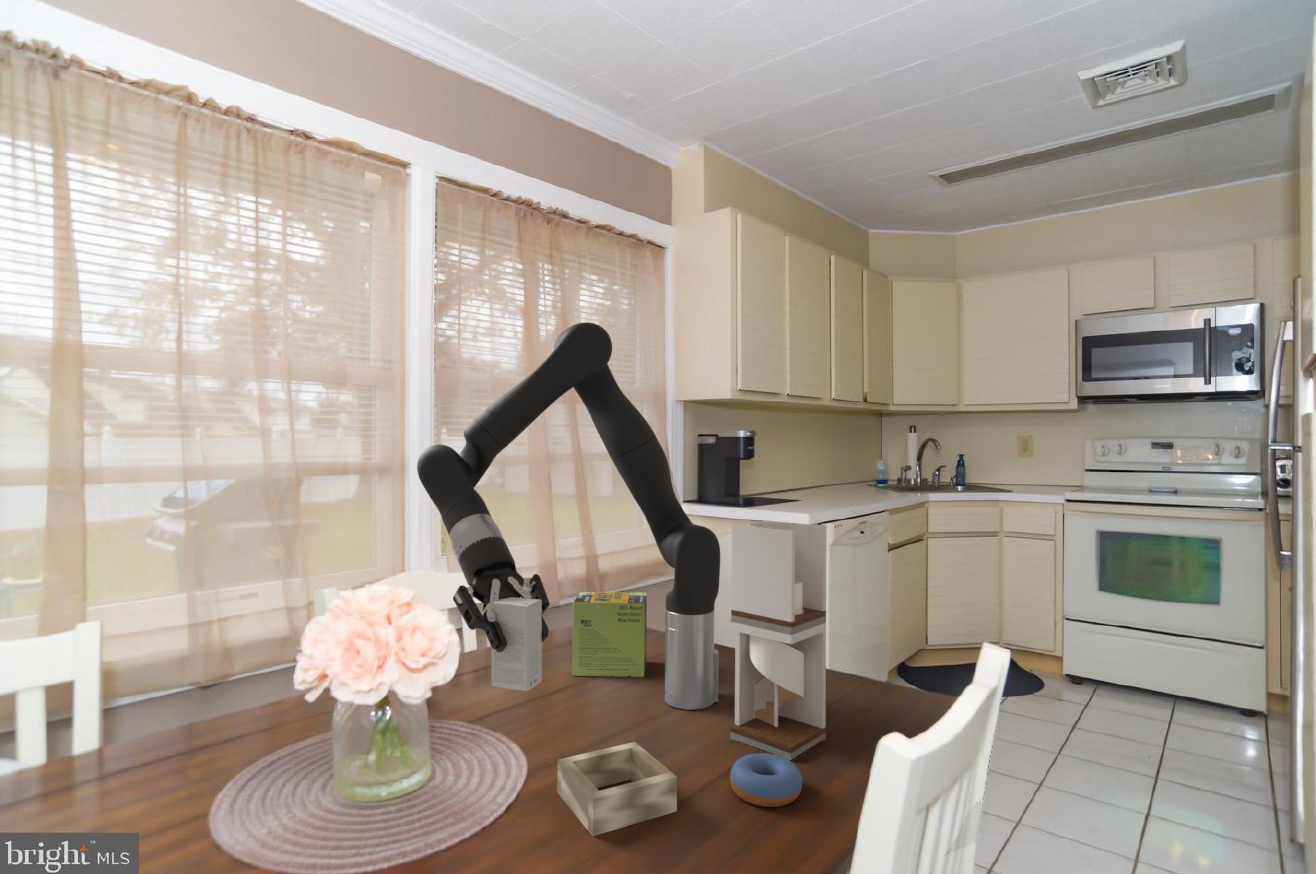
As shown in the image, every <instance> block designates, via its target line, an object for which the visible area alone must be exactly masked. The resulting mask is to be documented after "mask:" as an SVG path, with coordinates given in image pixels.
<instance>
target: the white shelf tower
mask: <svg viewBox="0 0 1316 874" xmlns="http://www.w3.org/2000/svg"><path fill="white" fill-rule="evenodd" d="M730 590H731V591H730V592H731V593H730V594H731V601H730V602H731V604H730V605H731V606H730V607H731V614H730V615H731V617H730V619H731V621H730V623H731V624H730V627H731V628H730V629H731V631H733V632H734V633H735V635H734V637H735V640H734V642H735V644H734V646H735V647H734V656H735V658H734V660H735V662H734V666H735V667H734V724H733V725H730V740H732V739H733V740H732V741H735V740H736V741H735V742H737V741H741V742H744V743H746V744H748V745H751V746H754V747H757V748H760V749H762V750H765V751H768V752H772V753H774V754H776V755H779V756H781V757H783V758H786V759H788V760H792V759H793V758H794V757H796V756H798V755H799V754H800V753H802V752H804V751H805V750H807V749H808V748H809V747H811V746H812V745H814V744H815V743H816V742H818V741H820V740H821V739H823V738H824V737H825V738H826V724H827V723H826V714H827V712H826V709H827V708H826V706H827V705H826V704H827V703H826V697H827V695H826V693H827V691H826V688H827V687H826V684H827V683H826V682H827V680H826V679H827V678H826V677H827V676H826V675H827V674H826V673H827V668H826V667H827V525H819V524H807V523H796V522H789V521H788V522H787V521H776V520H763V521H761V520H760V521H755V522H754V521H753V522H747V523H739V524H732V525H731V589H730ZM748 745H747V746H748ZM751 746H750V747H751ZM754 747H753V748H754ZM762 750H761V751H762ZM798 757H799V756H798ZM792 761H793V760H792Z"/></svg>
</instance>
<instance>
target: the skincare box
mask: <svg viewBox="0 0 1316 874" xmlns="http://www.w3.org/2000/svg"><path fill="white" fill-rule="evenodd" d="M493 609H494V610H495V612H496V619H495V622H498V623H499V625H500V627H501V629H502V632H503V634H504V636H505V639H506V641H507V646H506V648H505V649H504V651H503V652H499V653H498V652H497V651H496V649H493V648H492V647H491V686H492V687H494V688H502V689H510V690H516V691H525V692H528V691H530V690H531V689H533V688H534V687H536V686H537V685H538V684H541V683H542V682H543V681H542V680H543V668H542V667H543V665H542V663H543V660H542V658H543V655H542V653H543V649H542V648H543V642H542V616H543V615H542V600H540V599H526V598H521V597H520V598H515V597H511V598H505V599H500V600H498V601H497V602H493Z"/></svg>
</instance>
